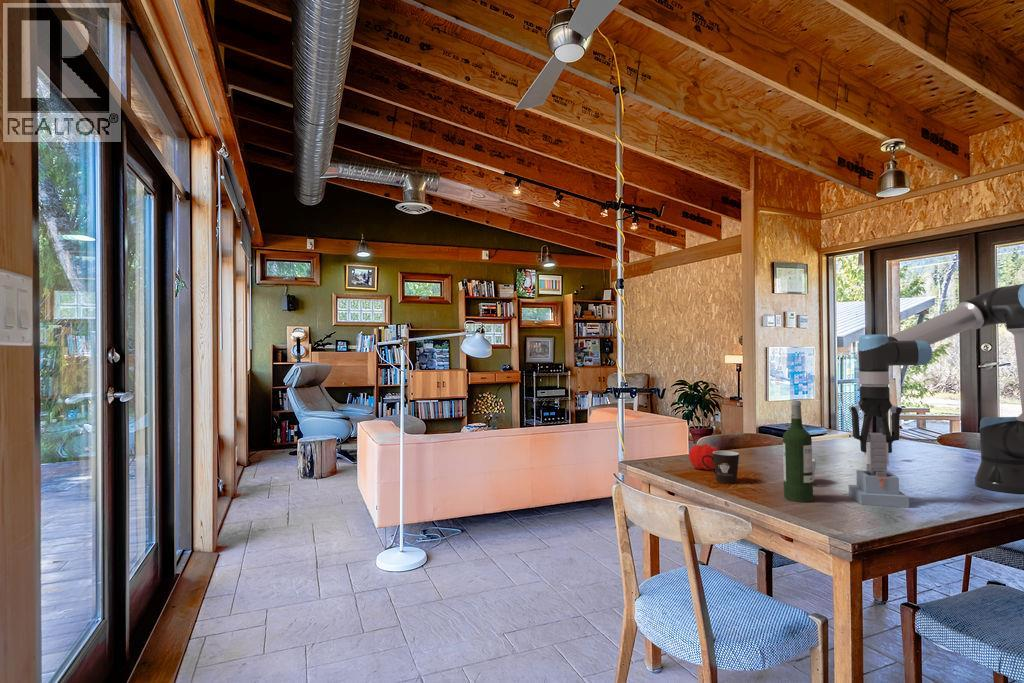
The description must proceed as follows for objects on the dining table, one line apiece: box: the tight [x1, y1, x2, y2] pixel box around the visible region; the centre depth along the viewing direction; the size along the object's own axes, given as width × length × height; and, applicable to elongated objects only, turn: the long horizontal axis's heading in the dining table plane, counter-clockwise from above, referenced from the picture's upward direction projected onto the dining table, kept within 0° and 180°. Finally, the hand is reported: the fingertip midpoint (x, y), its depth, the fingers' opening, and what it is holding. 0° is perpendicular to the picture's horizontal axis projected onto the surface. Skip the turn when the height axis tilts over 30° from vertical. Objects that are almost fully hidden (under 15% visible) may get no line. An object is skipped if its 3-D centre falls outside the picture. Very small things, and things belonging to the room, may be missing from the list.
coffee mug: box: [702, 450, 740, 485], centre depth 188 cm, size 12×9×10 cm
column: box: [866, 432, 888, 476], centre depth 161 cm, size 4×5×20 cm
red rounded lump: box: [688, 443, 720, 471], centre depth 208 cm, size 11×12×9 cm
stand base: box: [847, 469, 910, 508], centre depth 161 cm, size 12×12×9 cm
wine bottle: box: [782, 399, 814, 503], centre depth 164 cm, size 8×8×30 cm
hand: (876, 463), depth 161 cm, fingers closed on column, 4 cm apart
